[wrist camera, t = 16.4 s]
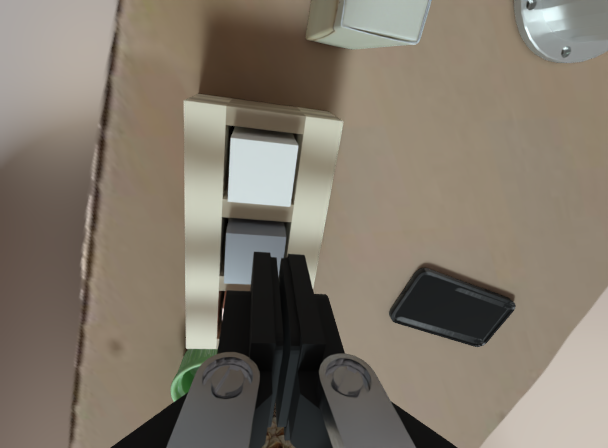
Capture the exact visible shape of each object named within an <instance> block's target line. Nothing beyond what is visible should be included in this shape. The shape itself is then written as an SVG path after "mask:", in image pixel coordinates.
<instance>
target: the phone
mask: <svg viewBox="0 0 608 448" xmlns="http://www.w3.org/2000/svg"><path fill="white" fill-rule="evenodd" d="M412 279H413V280H412ZM406 288H407V290H406ZM405 290H406V291H405ZM404 291H405V293H404ZM403 293H404V294H403ZM402 294H403V295H402ZM514 309H515V303H514V302H513V301H512V300H511V299H509V298H507V297H505V296H502V295H499V294H497V293H494V292H491V291H489V290H486V289H483V288H480V287H477V286H474V285H472V284H469V283H466V282H463V281H461V280H458V279H455V278H453V277H450V276H447V275H444V274H442V273H439V272H436V271H433V270H431V269H428V268H421V269H419V270H417V271H416V272H415V273H414V275H413V276H412V278H411V279H410V281H409V282H408V284H407V285H406V287H405V288H404V290H403V291H402V293H401V294H400V296H399V297H398V299H397V300H396V302H395V303H394V305H393V306H392V308H391V309H390V311H389V315H390V317H391V319H392V321H393V322H395V323H398V324H401V325H404V326H408V327H411V328H414V329H418V330H421V331H424V332H428V333H431V334H434V335H438V336H441V337H444V338H448V339H451V340H455V341H458V342H461V343H465V344H468V345H471V346H475V347H480V346H483V345H485V344H486V343H487V342H488V341H489V339H490V338H491V337H492V336H493V335H494V333H495V332H496V331H497V330H498V329H499V328H500V326H501V325H502V324H503V323H504V322H505V321H506V319H507V318H508V317H509V316H510V315H511V313H512V312H513V311H514Z"/></svg>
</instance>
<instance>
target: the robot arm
mask: <svg viewBox="0 0 608 448" xmlns="http://www.w3.org/2000/svg"><path fill="white" fill-rule="evenodd" d="M514 11H515V19H516V23H517V26H518V30H519V33H520V35H521V37H522V39H523V40H524V42H525V44H526V45H527V47H529V48H530V49H531V50H532V51H533V52H534V53H535V54H536V55H538V56H539V57H541V58H543V59H545V60H548V61H552V62H556V63H574V62H583V61H586V60H589V59H592V58H595V57H597V56H599V55H601V54H603V53H605V52H607V51H608V0H514ZM275 404H276V424H277V427H284V440H285V441H290V443H291V444H292V445H293V446H294V447H295V448H457V447H456V446H455V445H453V444H452V443H450V442H449V441H447V440H446V439H444V438H443V437H442V436H440V435H439V434H437V433H436V432H434V431H433V430H431V429H430V428H429V427H427V426H426V425H424V424H423V423H421V422H420V421H418V420H417V419H416V418H414V417H413V416H411V415H410V414H408V413H407V412H405V411H404V410H403V409H401V408H400V407H398V406H397V405H395V404H394V403H393V402H391V401H390V399H389V397H388V396H387V394H386V392H385V390H384V388H383V386H382V385H381V383H380V381H379V379H378V377H377V375H376V374H375V372H374V371H373V369H372V368H371V367H370V366H369V365H368V364H367V363H366V362H365V361H363V360H362V359H360V358H358V357H356V356H353V355H349V354H345V353H344V349H343V346H342V342H341V339H340V336H339V332H338V329H337V325H336V322H335V319H334V315H333V312H332V308H331V305H330V302H329V298H328V296H327V295H326V294H314V292H313V288H312V284H311V279H310V275H309V271H308V267H307V262H306V258H305V255H300V254H288V255H287V258H281V262H280V270H279V277H278V267H277V257H271V253H269V252H254V255H253V265H252V276H251V287H250V291H234V290H227V291H226V298H225V304H224V311H223V318H222V324H221V331H220V338H219V345H218V351H217V354H216V355H214V356H212V357H210V358H208V359H207V360H206V361H204V362H203V363H202V364H201V365H200V367H199V368H198V370H197V372H196V374H195V376H194V379H193V382H192V384H191V387H190V389H189V392H187V393H186V394H185V395H183V396H182V397H180V398H179V399H178V400H176V401H175V402H173V403H172V404H171V405H169V406H168V407H166V408H165V409H164V410H162V411H161V412H160V413H158V414H157V415H155V416H154V417H153V418H151V419H150V420H148V421H147V422H146V423H144V424H143V425H141V426H140V427H139V428H137V429H136V430H135V431H133V432H132V433H130V434H129V435H128V436H126V437H125V438H123V439H122V440H121V441H119V442H118V443H116V444H115V445H114V446H112V447H111V448H262V447H263V446H264V444H265V441H266V435H267V428H268V427H271V425H272V419H273V412H274V406H275Z"/></svg>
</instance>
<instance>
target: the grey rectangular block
mask: <svg viewBox="0 0 608 448" xmlns="http://www.w3.org/2000/svg"><path fill="white" fill-rule="evenodd" d="M285 244H286V232H285V226H284V222H281V221H268V220H255V219H241V218H229V221H228V226H227V231H226V247H225V267H224V283H227V284H251V276H252V265H253V255H254V252H269V253H271V257H277V267H278V277H279V270H280V262H281V258H284V251H285Z"/></svg>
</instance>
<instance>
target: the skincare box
mask: <svg viewBox="0 0 608 448" xmlns="http://www.w3.org/2000/svg"><path fill="white" fill-rule="evenodd" d="M431 1H432V0H311V4H310V11H309V18H308V24H307V31H306V39H307V40H311V41H315V42H319V43H323V44H328V45H332V46H337V47H342V48H347V49H364V48H376V47H388V46H400V45H415V44H417V43H418V42H419V41H420V38H421V35H422V31H423V28H424V25H425V21H426V18H427V15H428V11H429V8H430V4H431Z"/></svg>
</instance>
